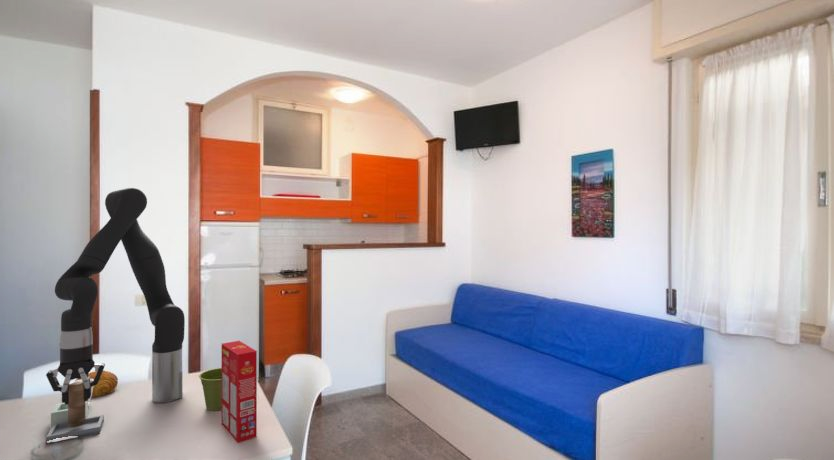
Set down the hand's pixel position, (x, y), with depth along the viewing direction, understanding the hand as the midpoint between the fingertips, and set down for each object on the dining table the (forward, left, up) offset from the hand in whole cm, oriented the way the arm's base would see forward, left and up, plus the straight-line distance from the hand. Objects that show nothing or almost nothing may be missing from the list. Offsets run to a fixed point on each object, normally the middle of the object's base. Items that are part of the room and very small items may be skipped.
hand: (76, 401), depth 124 cm
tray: (0, 0, -9) cm, 9 cm away
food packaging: (-42, +23, -9) cm, 48 cm away
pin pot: (+3, -9, -9) cm, 13 cm away
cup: (+3, -23, -9) cm, 25 cm away
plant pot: (-38, +2, -9) cm, 39 cm away
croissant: (+1, -36, -9) cm, 37 cm away
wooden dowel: (0, 0, -7) cm, 7 cm away
